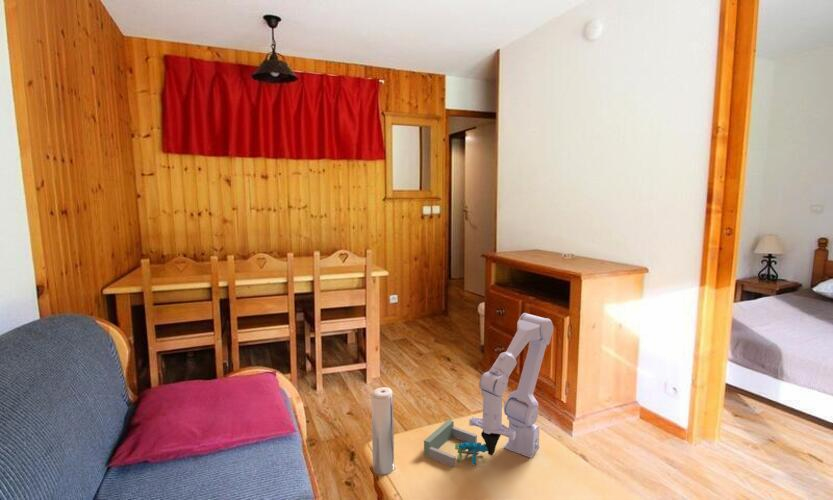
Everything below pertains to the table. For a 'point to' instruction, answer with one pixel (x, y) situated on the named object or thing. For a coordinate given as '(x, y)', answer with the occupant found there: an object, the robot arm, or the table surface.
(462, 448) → the blue toy cog wheel
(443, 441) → the green u-shaped bracket
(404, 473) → the table surface
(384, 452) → the white cylindrical tube
